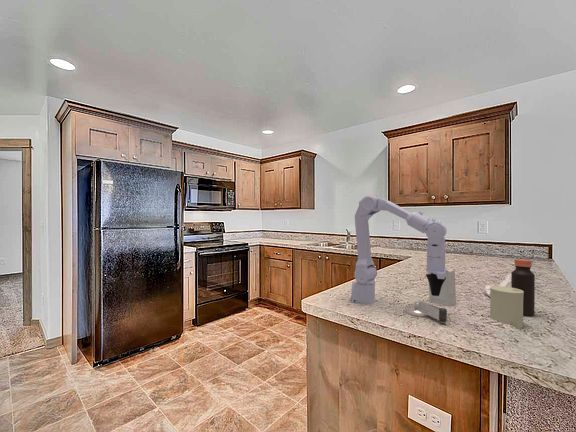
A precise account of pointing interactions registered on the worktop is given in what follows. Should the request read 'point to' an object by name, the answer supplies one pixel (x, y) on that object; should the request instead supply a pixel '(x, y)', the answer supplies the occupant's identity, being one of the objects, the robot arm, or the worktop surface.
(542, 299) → the worktop surface
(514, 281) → the bottle
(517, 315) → the can
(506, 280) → the plastic part
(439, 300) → the skincare box
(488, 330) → the worktop surface
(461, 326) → the worktop surface
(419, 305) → the crank handle
